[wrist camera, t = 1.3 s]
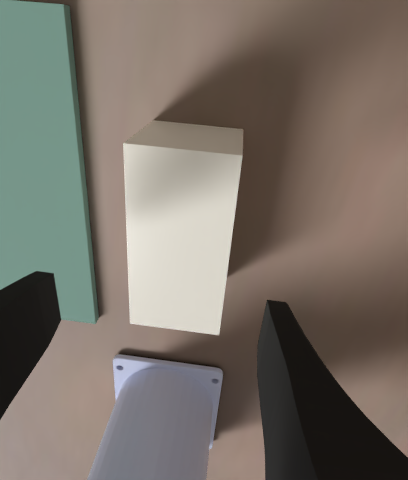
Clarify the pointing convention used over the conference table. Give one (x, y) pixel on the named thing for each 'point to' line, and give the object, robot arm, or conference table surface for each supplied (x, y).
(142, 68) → the conference table surface
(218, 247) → the card box
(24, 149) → the mat
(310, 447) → the robot arm
